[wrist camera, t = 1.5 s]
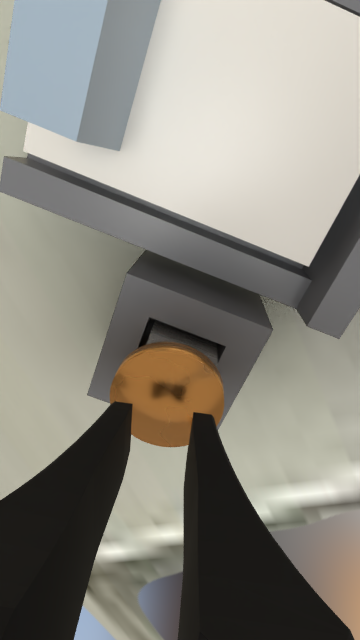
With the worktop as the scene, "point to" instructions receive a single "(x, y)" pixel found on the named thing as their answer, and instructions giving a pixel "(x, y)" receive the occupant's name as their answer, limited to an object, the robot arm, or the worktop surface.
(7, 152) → the worktop surface
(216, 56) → the white blue stepped block
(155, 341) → the orange round piece
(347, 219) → the housing
